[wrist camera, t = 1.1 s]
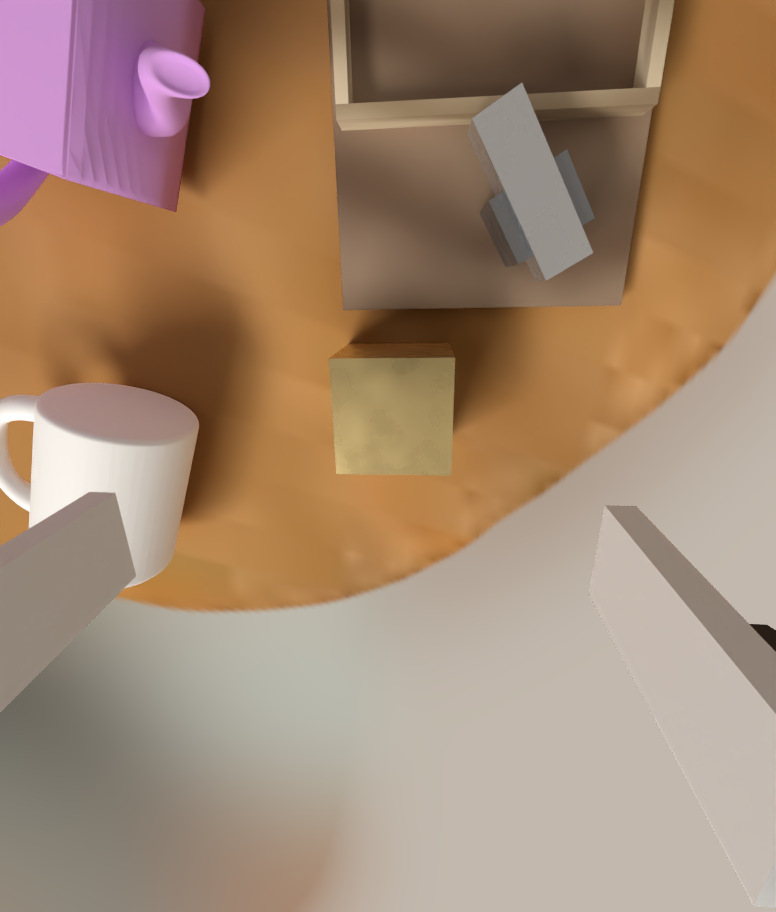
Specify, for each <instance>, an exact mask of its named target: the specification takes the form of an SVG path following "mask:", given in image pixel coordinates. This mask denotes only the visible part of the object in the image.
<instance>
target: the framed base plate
mask: <svg viewBox="0 0 776 912" xmlns="http://www.w3.org/2000/svg"><path fill="white" fill-rule="evenodd" d="M674 1H675V0H327V9H328V28H329V47H330V66H331V85H332V104H333V123H334V142H335V161H336V180H337V199H338V218H339V237H340V256H341V275H342V294H343V310H372V309H431V308H491V307H551V306H611V305H621V303H622V296H623V290H624V284H625V278H626V271H627V265H628V259H629V252H630V246H631V240H632V233H633V227H634V221H635V214H636V208H637V202H638V195H639V189H640V183H641V177H642V170H643V164H644V158H645V151H646V145H647V139H648V132H649V126H650V120H651V113H652V108H653V107H654V106H656V105H657V104H658V100H659V94H660V88H661V81H662V75H663V69H664V63H665V57H666V50H667V44H668V38H669V32H670V26H671V20H672V13H673V7H674ZM521 83H523V86H524V88H525V90H526V93H527V95H528V98H529V100H530V102H531V105H532V107H533V110H534V112H535V114H536V117H537V119H538V122H539V124H540V126H541V129H542V131H543V134H544V136H545V138H546V141H547V143H548V146H549V148H550V150H551V153H552V155H553V158H554V157H556V156H557V155H559V154H560V153H562V152H563V151H565V150H566V149H567V150H568V153H569V155H570V158H571V160H572V163H573V165H574V168H575V170H576V172H577V175H578V177H579V180H580V182H581V185H582V187H583V190H584V192H585V195H586V197H587V199H588V202H589V204H590V207H591V209H592V212H593V214H594V217H595V218H594V219H592V220H591V221H589V222H587V223H586V224H584V225H582V227H583V229H584V232H585V234H586V237H587V239H588V241H589V244H590V246H591V249H592V251H593V253H592V254H591V255H589V256H587V257H586V258H584V259H582V260H581V261H579V262H577V263H575V264H574V265H572V266H570V267H569V268H567V269H565V270H564V271H562V272H560V273H559V274H557V275H555V276H553V277H552V278H550V279H548V280H547V281H535V280H534V278H533V276H532V274H531V272H530V270H529V267H528V265H527V263H526V261H523V262H522V263H520V264H519V265H514V266H510V267H505V265H504V263H503V261H502V259H501V257H500V255H499V253H498V251H497V249H496V246H495V244H494V242H493V240H492V238H491V236H490V234H489V232H488V230H487V228H486V226H485V224H484V221H483V219H482V217H481V215H480V212H481V210H482V209H483V208H484V206H485V205H486V204H487V202H488V201H489V200H491V199H492V198H494V197H495V194H494V192H493V190H492V188H491V185H490V183H489V181H488V179H487V177H486V175H485V173H484V170H483V168H482V166H481V164H480V162H479V160H478V157H477V155H476V153H475V151H474V149H473V147H472V145H471V142H470V140H469V138H468V136H467V134H468V131H469V127H470V124H471V120H472V118H473V117H475V116H476V115H477V114H479V113H480V112H482V111H483V110H484V109H486V108H487V107H488V106H490V105H491V104H493V103H494V102H495V101H497V100H498V99H500V98H501V97H502V96H504V95H505V94H507V93H508V92H509V91H511V90H512V89H514V88H515V87H516V86H518V85H519V84H521Z"/></svg>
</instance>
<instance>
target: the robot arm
mask: <svg viewBox="0 0 776 912" xmlns="http://www.w3.org/2000/svg"><path fill="white" fill-rule="evenodd" d="M135 577H136V573H135V569H134V565H133V561H132V557H131V553H130V549H129V545H128V541H127V537H126V533H125V529H124V525H123V521H122V517H121V513H120V509H119V505H118V501H117V497H116V493H111V492H88V493H87V494H85V495H83V496H82V497H80V498H78V499H77V500H75V501H74V502H72V503H70V504H69V505H67V506H65V507H64V508H62V509H60V510H59V511H57V512H56V513H54V514H52V515H51V516H49V517H47V518H46V519H44V520H42V521H41V522H39V523H38V524H36V525H34V526H33V527H31V528H29V529H28V530H26V531H24V532H23V533H21V534H20V535H18V536H16V537H15V538H13V539H11V540H10V541H8V542H6V543H5V544H3V545H2V546H0V712H1V711H2V710H3V709H4V708H5V707H6V706H7V705H8V704H9V703H10V702H11V701H12V700H13V699H14V698H15V697H16V696H17V695H18V694H19V693H20V692H21V691H22V690H23V689H24V688H25V687H26V686H27V685H28V684H29V683H30V682H31V681H32V680H33V679H34V678H35V677H36V676H37V675H38V674H39V673H40V672H41V671H42V670H43V669H44V668H45V667H46V666H47V665H48V664H49V663H50V662H51V661H52V660H53V659H54V658H55V657H56V656H57V655H58V654H59V653H60V652H61V651H62V650H63V649H64V648H65V647H66V646H67V645H68V644H69V643H70V642H71V641H72V640H73V639H74V638H75V637H76V636H77V635H78V634H79V633H80V632H81V631H82V630H83V629H84V628H85V627H86V626H87V625H88V624H89V623H90V622H91V621H92V620H93V619H94V618H95V617H96V616H97V615H98V614H99V613H100V612H101V611H102V610H103V609H104V608H105V607H106V606H107V605H108V604H109V603H110V602H111V601H112V600H113V599H114V598H115V597H116V596H117V595H118V594H119V593H120V592H121V591H122V590H123V589H124V588H125V587H126V586H127V585H128V584H129V583H130V582H131V581H132V580H133V579H134V578H135ZM589 596H590V598H591V600H592V602H593V604H594V606H595V608H596V610H597V611H598V613H599V615H600V617H601V619H602V621H603V623H604V625H605V626H606V628H607V630H608V632H609V634H610V636H611V638H612V640H613V642H614V644H615V645H616V647H617V649H618V651H619V653H620V655H621V657H622V659H623V661H624V662H625V664H626V666H627V668H628V670H629V672H630V674H631V675H632V678H633V679H634V681H635V683H636V685H637V687H638V689H639V691H640V692H641V695H642V696H643V698H644V700H645V702H646V704H647V706H648V708H649V710H650V711H651V713H652V715H653V717H654V719H655V721H656V723H657V725H658V726H659V729H660V730H661V732H662V734H663V736H664V738H665V740H666V742H667V744H668V745H669V747H670V749H671V751H672V753H673V754H674V757H675V759H676V761H677V763H678V764H679V766H680V768H681V770H682V772H683V774H684V776H685V777H686V780H687V781H688V783H689V785H690V787H691V789H692V791H693V792H694V794H695V797H696V798H697V800H698V802H699V804H700V806H701V808H702V810H703V812H704V813H705V815H706V817H707V819H708V821H709V823H710V825H711V827H712V829H713V830H714V832H715V834H716V836H717V838H718V840H719V842H720V844H721V846H722V847H723V849H724V851H725V853H726V855H727V857H728V859H729V861H730V863H731V864H732V866H733V868H734V870H735V872H736V874H737V876H738V878H739V879H740V881H741V883H742V885H743V887H744V889H745V891H746V893H747V895H748V897H749V898H750V900H751V902H752V904H753V906H760V907H771V908H776V630H774V629H773V628H771V627H770V626H768V625H759V624H749V623H748V622H746V620H745V619H744V618H743V617H742V616H741V615H740V614H739V613H738V612H737V611H736V610H735V609H734V608H733V607H732V606H731V605H730V604H729V603H728V602H727V601H726V600H725V599H724V597H723V596H722V595H721V594H720V593H719V592H718V591H717V590H716V589H715V588H714V587H713V586H712V585H711V584H710V583H709V582H708V581H707V580H706V579H705V578H704V577H703V576H702V575H701V573H699V571H697V569H696V568H695V567H694V566H693V565H692V564H691V563H690V562H689V561H688V560H687V559H686V558H685V557H684V556H683V555H682V554H681V553H680V552H679V550H677V548H676V547H675V546H674V545H673V544H672V543H671V542H670V541H669V540H668V539H667V538H666V537H665V536H664V535H663V534H662V533H661V532H660V531H659V530H658V529H657V528H656V526H654V525H653V523H652V522H651V521H650V520H649V519H648V518H647V517H646V516H645V515H644V514H643V513H642V512H641V511H640V510H639V509H638V508H637V507H636V506H605V508H604V513H603V519H602V524H601V530H600V535H599V541H598V546H597V552H596V557H595V563H594V568H593V574H592V579H591V584H590V590H589Z"/></svg>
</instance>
